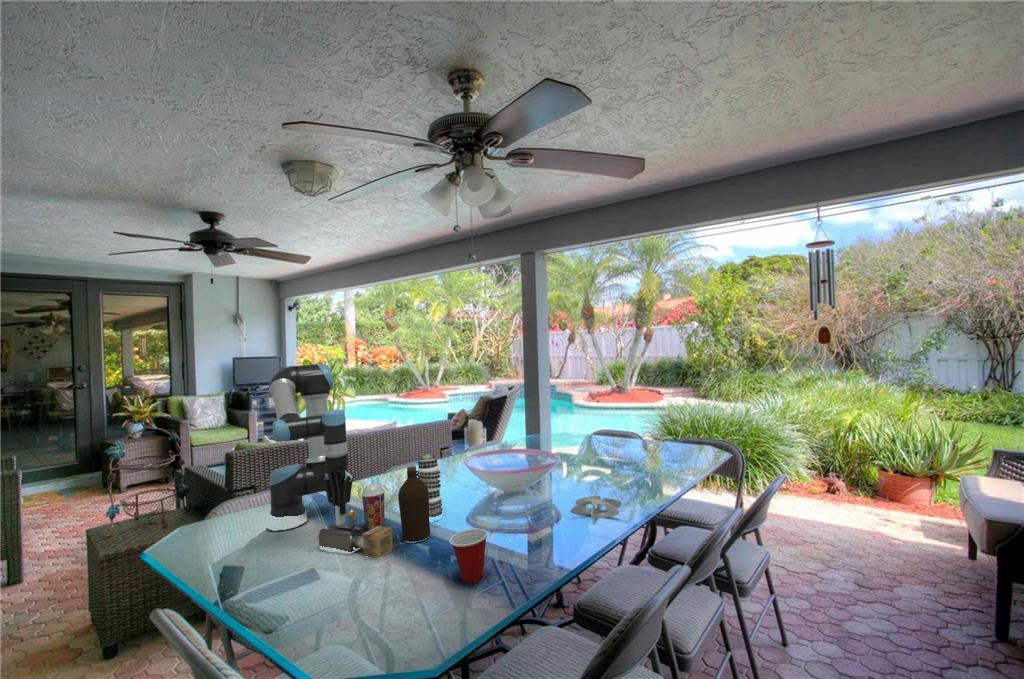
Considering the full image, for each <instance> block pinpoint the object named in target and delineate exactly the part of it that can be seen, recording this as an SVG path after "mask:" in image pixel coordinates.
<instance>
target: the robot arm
mask: <svg viewBox="0 0 1024 679" xmlns="http://www.w3.org/2000/svg"><path fill="white" fill-rule="evenodd" d="M332 390H334V379H333V374H332V371H331V368H330V367H329V365H327V364H326V363H316V364H315V363H314V364H302V365H290V366H287V367H284V368H282V369H279V371H277V372H276V373H275V374H274V375H273V376H272V378H271V379H270V381H269V383H268V392H269V395H270V397H271V398H273V404H274V411H275V415H276V420H274V421H272V422H273V423H272V436H273V441H274V442H276V443H283V442H285V443H287V442H291V441H296V440H303V439H307V443H308V444H307V446H308V458H307V459H306V461H305V465H304V466H302V465H301V464H299V463H294V464H288V465H285V466H281V467H279V468H277V469H274V470H273V471H272V472H270V474H269V483H268V485H269V488H270V489H269V493H270V494H269V495H270V496H269V497H270V512H269V515H270V514H271V515H272V516H275V517H284V516H298V515H302V514H304V513H305V510H306V507H305V505H304V501H303V496H308V495H313V494H318V493H322V492H326V498H327V500H328V503H329V504H331V505H333V513H334V515H335V525H340V526H342V525H343V524H346V514H347V512H346V511H347V510H346V504H348V503H350V501H351V496H352V488H353V481H354V479H355V475H354V474H352V475H351V474H350V473H349V469H348V465H349V455H348V454H347V453H348V441H347V427H346V426H347V424H346V420H347V418H346V413H345V410H344V409H330V410H328V397H329V396H330V395H331V391H332ZM295 394H300V398H301V399H303V400H304V403H305V404H304V405H305V416H304V417H302V416H301V414H300V411H299V407H298V402H297V399H296V395H295ZM306 511H307V510H306Z"/></svg>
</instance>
